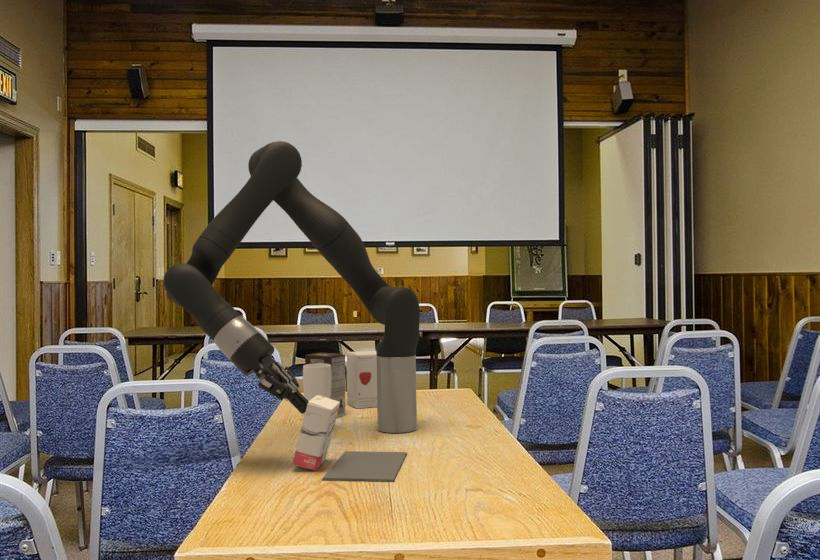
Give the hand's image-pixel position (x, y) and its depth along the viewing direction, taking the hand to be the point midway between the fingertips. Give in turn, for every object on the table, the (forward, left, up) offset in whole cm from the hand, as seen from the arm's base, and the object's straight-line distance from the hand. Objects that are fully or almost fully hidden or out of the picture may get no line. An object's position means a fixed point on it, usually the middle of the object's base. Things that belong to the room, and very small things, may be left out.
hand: (307, 409), depth 121 cm
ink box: (0, 0, -10) cm, 10 cm away
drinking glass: (-31, -6, -11) cm, 33 cm away
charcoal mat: (0, +11, -10) cm, 15 cm away
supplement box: (-61, 0, -11) cm, 62 cm away
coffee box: (-46, -8, -11) cm, 48 cm away
